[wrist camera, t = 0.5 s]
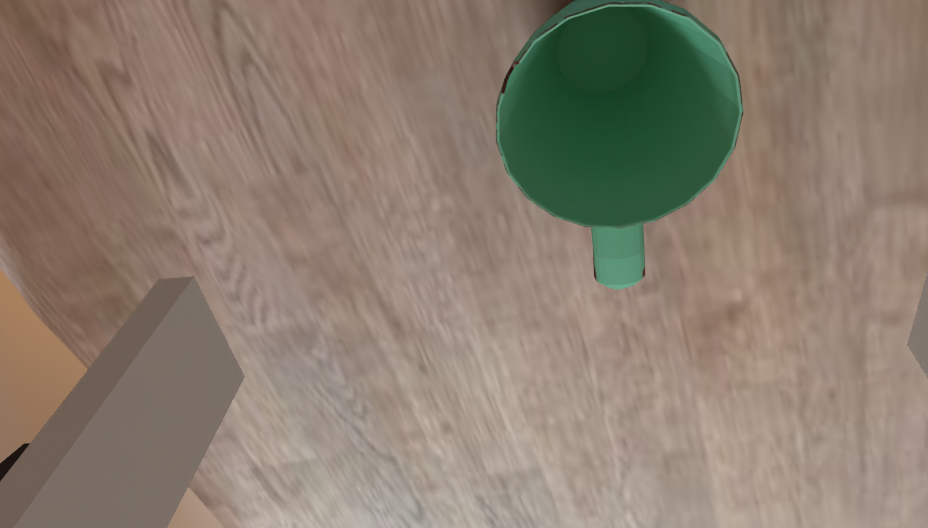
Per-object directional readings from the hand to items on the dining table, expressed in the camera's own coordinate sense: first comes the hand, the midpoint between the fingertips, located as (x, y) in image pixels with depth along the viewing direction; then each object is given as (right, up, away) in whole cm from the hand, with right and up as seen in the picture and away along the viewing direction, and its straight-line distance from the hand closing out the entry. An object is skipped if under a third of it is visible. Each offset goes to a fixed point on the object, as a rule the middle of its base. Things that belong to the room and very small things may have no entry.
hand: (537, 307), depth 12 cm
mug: (+6, +10, +24) cm, 27 cm away
